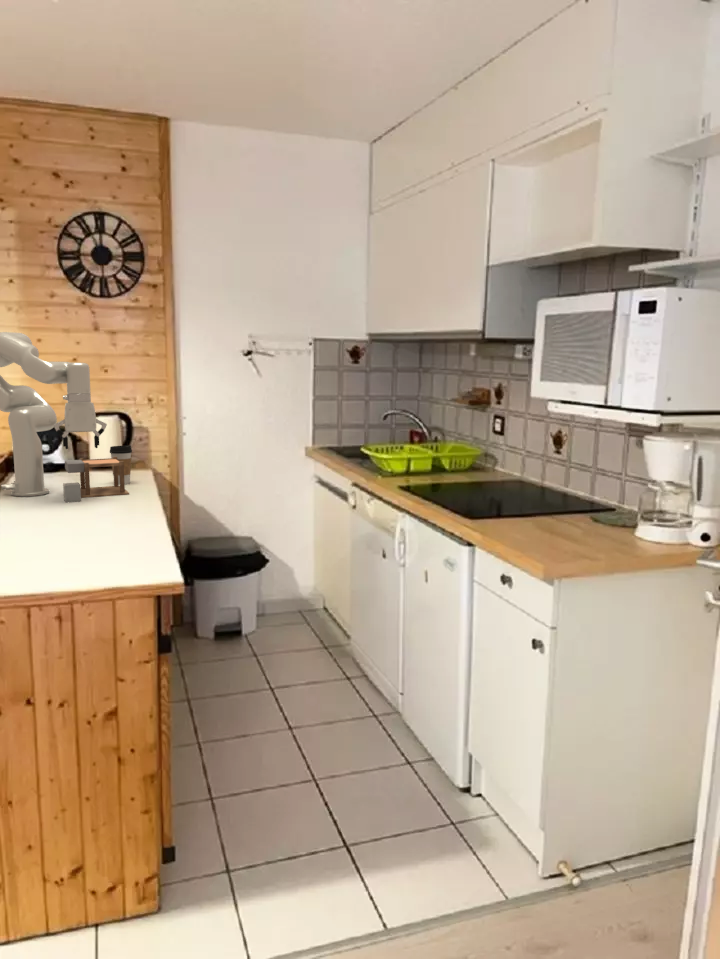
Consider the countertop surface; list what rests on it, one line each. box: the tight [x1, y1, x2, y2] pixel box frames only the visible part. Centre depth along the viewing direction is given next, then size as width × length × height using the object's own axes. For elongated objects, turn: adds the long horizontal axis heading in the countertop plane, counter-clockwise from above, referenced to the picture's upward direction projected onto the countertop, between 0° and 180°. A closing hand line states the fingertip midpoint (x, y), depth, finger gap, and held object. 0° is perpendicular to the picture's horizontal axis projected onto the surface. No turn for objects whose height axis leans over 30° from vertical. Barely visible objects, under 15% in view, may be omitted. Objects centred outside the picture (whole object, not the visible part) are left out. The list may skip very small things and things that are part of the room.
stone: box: [62, 481, 82, 504], centre depth 258 cm, size 5×5×6 cm
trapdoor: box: [64, 458, 119, 474], centre depth 273 cm, size 18×10×3 cm, turn 117°
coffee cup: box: [109, 444, 133, 486], centre depth 294 cm, size 8×8×15 cm
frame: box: [78, 457, 130, 499], centre depth 274 cm, size 18×17×12 cm
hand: (81, 448), depth 260 cm, fingers open, 9 cm apart
